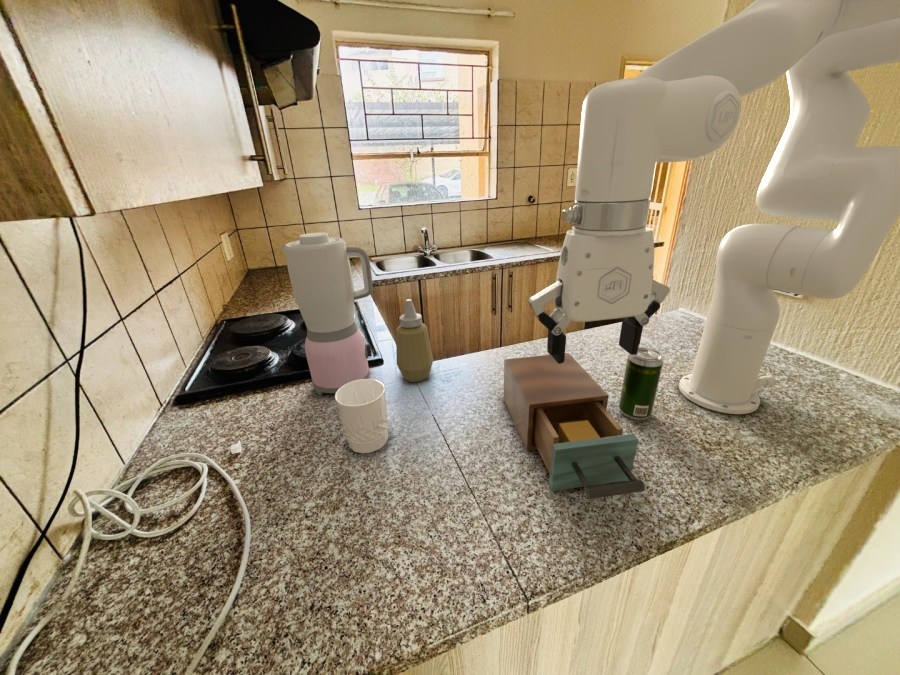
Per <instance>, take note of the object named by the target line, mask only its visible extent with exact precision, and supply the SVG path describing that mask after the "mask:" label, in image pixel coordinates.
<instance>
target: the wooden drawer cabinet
mask: <svg viewBox="0 0 900 675" xmlns="http://www.w3.org/2000/svg"><path fill="white" fill-rule="evenodd" d="M502 399H503V402H504V404H505V407H506V408H507V411H508V413H509V415H510V417H511V419H512V421H513V424H514V426H515V428H516V431H517V433H518V435H519V437H520V439H521V442H522V443H523V444H522V445H523V446H524V448H525V451H526V452H532V451H538V449H537V447H536V445H535V443H534V441H533V439H532V432H533V416H534V408H540V407H549V406H557V405H566V404H574V403H583V402H592V401H599V402H600V403H601V404H602V406H603V407H604V408H605V409H606V410H607V409H608V404H609V394H608V393H607V392H606V391H605V390H604V389H603V388H602V387H601V386H600V384H599V383H597V381H596V380H595V379H594V378H593V377H592V376H591V375H590V373H588V372H587V370H585V368H584V367H583V366H582V365H581V364H580V363H579V362H578V361H577V360H576V359H575V358H574V357H573V355H572V354H570V353H569V352H565V358H564V362H563V363H560V364H558V363H557V362H556V361H555V359H554V358H553V357H552V356H551V355H550V354H545V355H534V356H525V357H523V356H522V357H516V358H515V357H514V358H505V359H504V360H503V398H502Z"/></svg>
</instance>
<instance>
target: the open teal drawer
mask: <svg viewBox="0 0 900 675" xmlns="http://www.w3.org/2000/svg"><path fill="white" fill-rule="evenodd" d="M585 420H588V422H589V423H590V424H591V426H592V427H593V428H594V430H595V431H596V432H597V434H598V435H599V436H600V438H596V439H588V440H580V441H572V442H564V443H558V441H559V436H558V428H559V423H568V422H576V421H585ZM623 431H624V428H623V427H622V426H621V425H620V424H619V422H617V420H616V419H615V418H614V417H613V416H612V415H611V414H610V412H609V411H608V410H607V409H605V408H604V407H603V406H602V404H601V403H600V402H599V401H592V402H583V403H574V404H566V405H557V406H549V407H540V408H534V416H533V432H532V439H533V441H534V443H535V445H536V447H537V449H538V450H537V452H538V453H539V456H540V457H541V460H542V461H543V464H544V465H545V467H546V469H547V471H548V473H549V477H548V486H549V488H550V490H551V491H552V492H554V491H560V490H561V491H562V490H567V489H576V488H583V487H584V494H585V497H586V498H587V499H588V500H593V499H599V498H607V497H614V496H615V497H616V496H621V495H628V494H635V493H636V494H637V493H642V492H645V490H646V486H645V483H644V481H643V480H642V479H639V478H638V479H637V478H636V476H635V474H634V473H633V467H634V463H635V458H636V453H637V450H638V444H639V438H638V437H637V435H635V433H629V434H628V433H627V434H623Z"/></svg>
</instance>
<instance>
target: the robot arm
mask: <svg viewBox="0 0 900 675" xmlns="http://www.w3.org/2000/svg"><path fill="white" fill-rule="evenodd" d="M895 63H900V0H754V1H753V2H751V3H750V4H749V5H748V6H746V8H745V9H743V10H741V12H738V14H736V15H735V16H733V17H731V18H730V19H728V20H725V21H724V22H721V23H720V24H718V25H717V26H714V28H711V29H710V30H708V31H707V32H705V33H703V34H701V35H700V36H699V37H697V38H696V39H694V40H692V41H690V42H689V43H687V44H685V45H684V46H682V47H680V48H678V49H676V50H674V51H673V52H671V53H669V54H667V55H666V56H665V57H663V58H661V59H659V60H658V61H656V62H655V63H653V64H652V65H650V66H648V67H647V68H645V69H644V70H643V71H642V72H639V74H638V75H636V76H635V77H627V78H620V79H615V80H611V81H607V82H604V83H600V84H598V85H596V86H595V87H593V88H591V89H590V90H589V91H588V92H587V94H586V96H585V97H584V100H583V102H582V109H581V119H580V128H579V129H580V130H579V143H578V155H577V168H576V178H575V179H576V180H575V190H574V193H575V194H574V201H572V207H569V208H567V209H563V210H562V212H561V220H562V222H563V223H569V224H570V227H572V228H571V229H569V230H567V231H566V234H565V237H564V240H563V244H562V247H561V251H560V256H559V260H558V266H557V272H556V278H555V282H554V283H553V284H551V285H549V286H548V287H546V288H544V289H542V290H541V291H540V292H538V293H536V294H534V295H533V296H531V297H529V298H528V301H527V302H528V305H529V307H530V308H531V311H532V313H533V314H534V316H535V318H536V319H537V320H538V321H539V323H540V324H542V325H543V326H544V327H545V328H546V329H547V343H546V344H547V345H546V350H547V353H548V355H551V356H552V357H553V358H554V359H555V361H556V362H557V363H558V364H560V363H563V362H564V358H565V353H566V346H567V345H566V344H567V335H566V333H564V331H565V330H566V329H567V327H568V326H569V325H570V324H571V323H572V322H575V323H588V322H596V321H597V322H598V321H607V320H617V319H622V321H621V327H620V333H619V340H618V345H619V347H621V348H622V349H623V350H624V351H625V352H627V354H628V355H629V354H631V355H636V354H637V352H638V347H639V346H640V344H641V340H642V335H643V328H644V327H645V326H648V324H649V323H650V319H651V317H652V316H654V314H656V313H657V312H658V311H659V310H660V308H661V304H662V303H663V302H664V300H665V299H666V298H667V296H668V295H669V293H670V291H671V289H670V287H669V286H667V285H665V284H663V283H661V282H658V281H657V280H655V279H653V278H654V270H655V268H654V267H655V242H654V241H655V240H654V230H653V228H650V227H647V223H648V216H649V211H650V204H651V197H652V192H653V187H654V181H655V174H656V170H657V169H656V168H657V163H658V164H660V163H682V162H690V161H695V160H699V159H702V158H705V157H707V156H709V155H710V154H713V153H714V152H716V151H718V150H719V149H720V148H721V147H722V146H723V145H725V143H727V141H728V140H729V139H730V138H731V136H732V135H733V133H734V131H735V129H736V128H737V125H738V123H739V120H740V117H741V112H742V101H741V98H742V97H745V96H748V95H750V94H752V93H755V92H757V91H760V90H762V89H764V88H766V87H768V86H770V85H771V84H773V83H775V82H776V81H778V80H779V79H780V78H782V77H783V76H784V75H785V74H786V79H787V85H788V90H789V91H788V92H789V98H790V113H789V119H788V122H787V124H786V126H785V127H786V128H785V130H784V132H783V134H782V137H781V138H780V140H779V143H778V145H777V147H776V150H775V151H774V154H773V156H772V158H771V161H770V162H769V164H768V166H767V169H766V171H765V173H764V176H763V177H762V179H761V182H760V184H759V186H758V190H757V192H756V197H755V206H756V208H757V209H758V211H759V212H761V213H763V214H765V215H768V216H772V217H773V216H774V217H779V218H780V217H781V218H790V219H801V220H803V219H804V220H820V221H830V222H831V221H832V222H837V227H836V228H835V229H834V228H833V229H832V228H823V227H822V228H821V227H811V226H809V227H808V226H802V225H791V224H778V223H761V222H760V223H749V224H744V225H741V226H737V227H735V228H733V229H732V230H730V231H729V232H728V233H726V234H725V236H724V237H723V238H722V240H721V241H720V244H719V245H718V248H717V252H716V259H715V277H714V278H715V279H714V281H715V282H714V287H713V293H712V297H711V302H710V305H709V309H708V313H707V316H706V320H705V323H704V328H703V332H702V335H701V338H700V342H699V346H698V349H697V353H696V356H695V359H694V360H695V361H694V363H693V368H692V371H691V373H690V374H686V375H684V376H683V377H681V378H680V380H679V383H678V389H679V391H680V393H681V394H682V395H683V396H684V397H685V398H686V399H688V400H689V401H691V403H693V404H696V405H698V406H700V407H702V408H704V409H707V410H709V411H710V410H711V411H714V412H718V413H722V414H729V415H746V414H751V413H753V412H756V411H757V410H758V409H759V406H760V404H761V399H760V396H759V395H758V393H757V391H758V390H759V389H761V388H762V387H765V388H766V387H774V386H776V384H777V379H776V378H775V377H774V376H773V375H762V376H759V375H760V374H759V373H760V372H761V369H762V365H763V363H764V360H765V359H766V358H765V357H766V355H767V352H768V350H769V347H770V344H771V342H772V339H773V336H774V333H775V330H776V328H777V325H778V322H779V319H780V310H781V309H780V304H779V300H778V298H777V296H776V294H775V292H774V290H775V291H779V292H785V293H790V294H794V295H799V296H803V297H804V296H805V297H810V298H816V299H822V300H834V299H839V298H842V297H845V296H847V295H848V294H849V293H851V292H852V291H853V290H854V289H855V288H856V287H857V285H858V284H859V283H860V282H861V280H862V279H863V278H864V276H865V275H866V273H867V271H868V269H869V268H870V266H871V264H872V263H873V261H874V259H875V258H876V255H877V253H878V252H879V250H880V249H881V247H882V244H883V243H884V241H885V240H886V237H887V236H888V234H889V233H890V231H891V229H892V227H893V226H894V223H895V222H896V220H897V218H898V216H899V215H900V146H899V145H871V146H856V144H857V142H858V140H859V138H860V136H861V134H862V132H863V130H864V128H865V126H866V124H867V122H868V120H869V117H870V114H871V107H870V103H869V101H868V98H867V97H866V95H865V93H864V91H863V90H862V88H860V86H859V85H858V84H857V82H855V81H854V79H853V78H852V77H851V76H850V74H849V72H850V71H856V70H857V71H858V70H862V69H867V68H873V67H879V66H883V65H890V64H895ZM552 301H554V307H555V308H554V310H553V311H552V312H551V314H548V313H547V311H546V305H547V304H549V303H551V302H552Z"/></svg>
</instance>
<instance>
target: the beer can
mask: <svg viewBox="0 0 900 675" xmlns="http://www.w3.org/2000/svg"><path fill="white" fill-rule="evenodd" d="M663 366H664V355H663V353H661V352H660V351H659V350H656V349H654V348H650V347H641V346H640V347H638V352H637V354H636V355H631V354H629V353H628V354H627V360H626V366H625V369H624V374H623V375H624V376H623V380H622V386H621V391H620V392H621V393H620V398H619V403H618V408H619V411H620V413H621V414H622V415H623V416H624V417H626V418H627V419H630V420H635V421H645V420H647V419H648V418H650V417H651V415H652V414H653V410H654V405H655V402H656V401H655V400H656V396H657V392H658V388H659V384H660V379H661V375H662V372H663Z"/></svg>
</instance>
